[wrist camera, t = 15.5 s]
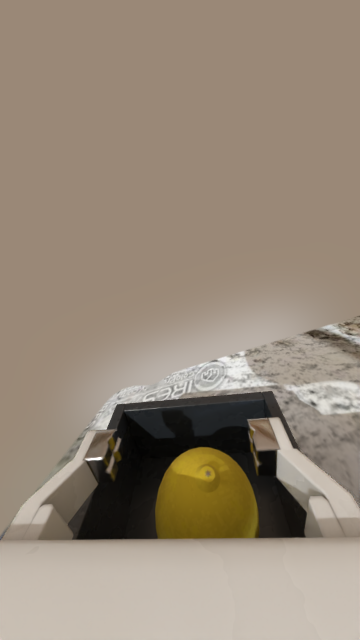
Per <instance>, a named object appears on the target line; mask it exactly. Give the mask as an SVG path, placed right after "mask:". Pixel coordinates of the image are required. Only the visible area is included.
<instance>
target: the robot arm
mask: <svg viewBox="0 0 360 640" xmlns="http://www.w3.org/2000/svg"><path fill="white" fill-rule="evenodd" d="M247 426H248V440H249V446H250V450H251V452H252V453H253V462H254V465H255V469H256V473H257V476H276V477H277V478H278V479H279V480H280V482H281V483H282V484H283V485H284V486H285V487H286V489H287V490H288V491H289V492H290V493H291V494H292V496H293V497H294V498H295V499H296V500H297V501H298V503H299V504H300V505H301V506H302V507H303V508H304V510H305V511H306V512H307V517H306V523H305V530H304V533H305V536H306V538H208V539H99V540H72V538H73V532H72V531H71V529H70V528H69V526H68V525H67V524H68V523H69V521H70V520H71V519H72V517H73V516H74V515H75V514H76V512H77V511H78V510H79V508H80V507H81V506H82V505H83V503H84V502H85V501H86V499H87V498H88V497H89V496H90V494H91V493H92V492H93V490H94V489H95V488H96V487H97V485H98V483H109V482H114V481H115V478H116V475H117V471H118V465H117V463H118V462H119V461H120V460H121V458H122V454H123V442H122V439H120V438H119V437H118V436H119V432H118V430H117V429H111V430H91V431H89V432H88V433H87V434H86V436H85V438H84V440H83V442H82V444H81V446H80V448H79V450H78V452H77V453H76V455H75V457H74V459H73V461H70V462H69V463H68V464H66V465H65V466H64V467H63V468H62V469H61V470H60V471H59V472H58V473H56V474H55V475H54V476H53V477H52V478H51V479H50V480H49V481H48V482H47V483H45V484H44V485H43V486H42V487H41V488H40V489H39V490H38V491H37V492H36V493H34V494H33V495H32V496H31V497H30V498H29V499H28V500H27V501H26V502H25V503H23V505H22V506H21V508H20V510H19V511H18V513H17V515H16V516H15V518H14V520H13V521H12V523H11V525H10V526H9V528H8V530H7V531H6V533H5V534H4V536H3V538H2V539H1V540H0V640H360V508H359V506H358V504H357V502H356V501H355V499H354V497H353V496H352V494H351V493H350V492H348V491H347V490H346V489H345V488H344V487H342V486H341V485H340V484H339V483H338V482H336V481H335V480H334V479H333V478H332V477H330V476H329V475H328V474H327V473H326V472H324V471H323V470H322V469H321V468H319V467H318V466H317V465H316V464H315V463H313V462H312V461H311V460H310V459H309V458H307V457H306V456H305V455H304V454H303V453H301V452H300V451H299V450H298V449H293V447H292V444H291V442H290V440H289V438H288V435H287V433H286V431H285V429H284V427H283V424H282V422H281V420H280V418H279V417H274V418H259V419H247Z"/></svg>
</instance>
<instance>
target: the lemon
mask: <svg viewBox="0 0 360 640" xmlns="http://www.w3.org/2000/svg"><path fill="white" fill-rule="evenodd" d="M155 519H156V532H157V537H158V539H208V538H259V513H258V507H257V503H256V499H255V495H254V491H253V489H252V486H251V484H250V482H249V480H248V478H247V476H246V474H245V473H244V471H243V470H242V469H241V467H240V466H239V465H238V464H237V462H235V461H234V460H233V459H232V458H231V457H230V456H229V455H227V454H225V453H223V452H221V451H219V450H216V449H213V448H209V447H198V448H194V449H190V450H188V451H186V452H184V453H182V454H181V455H180V456H179V457H177V458H176V459H175V460H174V461H173V462H172V464H171V465H170V466H169V468H168V469H167V471H166V472H165V474H164V477H163V479H162V482H161V484H160V487H159V490H158V496H157V501H156V507H155Z"/></svg>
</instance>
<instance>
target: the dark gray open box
mask: <svg viewBox="0 0 360 640" xmlns="http://www.w3.org/2000/svg"><path fill="white" fill-rule="evenodd" d="M274 417H279V418H280V420H281V422H282V424H283V427H284V429H285V431H286V433H287V435H288V438H289V440H290V442H291V444H292V447H293V449H298V450H299V448H298V445H297V443H296V441H295V439H294V437H293V435H292V433H291V431H290V428H289V426H288V424H287V422H286V420H285V418H284V416H283V413H282V411H281V409H280V407H279V405H278V403H277V401H276V399H275V396H274V394H273V392H272V391H268V392H262V393H261V392H256V393H244V394H233V395H221V396H210V397H198V398H187V399H175V400H164V401H152V402H141V403H129V404H117V406H116V408H115V410H114V413H113V415H112V418H111V420H110V423H109V425H108V427H107V430H111V429H117V430H118V432H119V436H118V437H119V438H120V439H122V442H123V454H122V458H121V460H120V461H119V462H118V463H117V465H118V471H117V475H116V478H115V481H114V482H109V483H98V485H97V487H96V488H95V489H94V490H93V492H92V493H91V494H90V496H89V497H88V498H87V499H86V501H85V502H84V503H83V505H82V506H81V507H80V508H79V510H78V511H77V512H76V514H75V515H74V516H73V517H72V519H71V520H70V521H69V523H68V526H69V528H70V529H71V531H72V532H73V538H72V540H99V539H158V537H157V532H156V519H155V507H156V501H157V496H158V490H159V487H160V484H161V482H162V479H163V477H164V474H165V472H166V471H167V469H168V468H169V466H170V465H171V464H172V462H173V461H174V460H175V459H176V458H177V457H179V456H180V455H181V454H182V453H184V452H186V451H188V450H190V449H194V448H198V447H209V448H213V449H216V450H219V451H221V452H223V453H225V454H227V455H229V456H230V457H231V458H232V459H233V460H234V461H235V462H237V464H238V465H239V466H240V467H241V469H242V470H243V471H244V473H245V474H246V476H247V478H248V480H249V482H250V484H251V486H252V489H253V491H254V495H255V499H256V503H257V507H258V513H259V538H306V536H305V533H304V530H305V523H306V517H307V512H306V511H305V510H304V508H303V507H302V506H301V505H300V504H299V503H298V501H297V500H296V499H295V498H294V497H293V496H292V494H291V493H290V492H289V491H288V490H287V489H286V487H285V486H284V485H283V484H282V483H281V482H280V480H279V479H278V478H277V477H276V476H257V473H256V469H255V465H254V462H253V453H252V452H251V450H250V446H249V440H248V426H247V419H259V418H274ZM299 451H300V450H299Z"/></svg>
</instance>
